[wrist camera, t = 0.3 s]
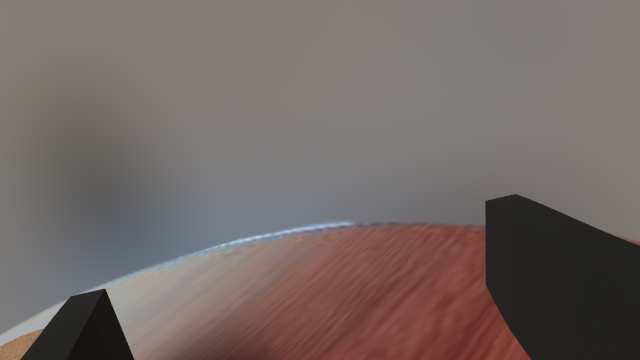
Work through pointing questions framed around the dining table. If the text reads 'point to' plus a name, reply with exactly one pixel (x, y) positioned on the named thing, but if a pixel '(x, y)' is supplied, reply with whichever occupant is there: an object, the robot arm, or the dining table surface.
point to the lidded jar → (18, 346)
